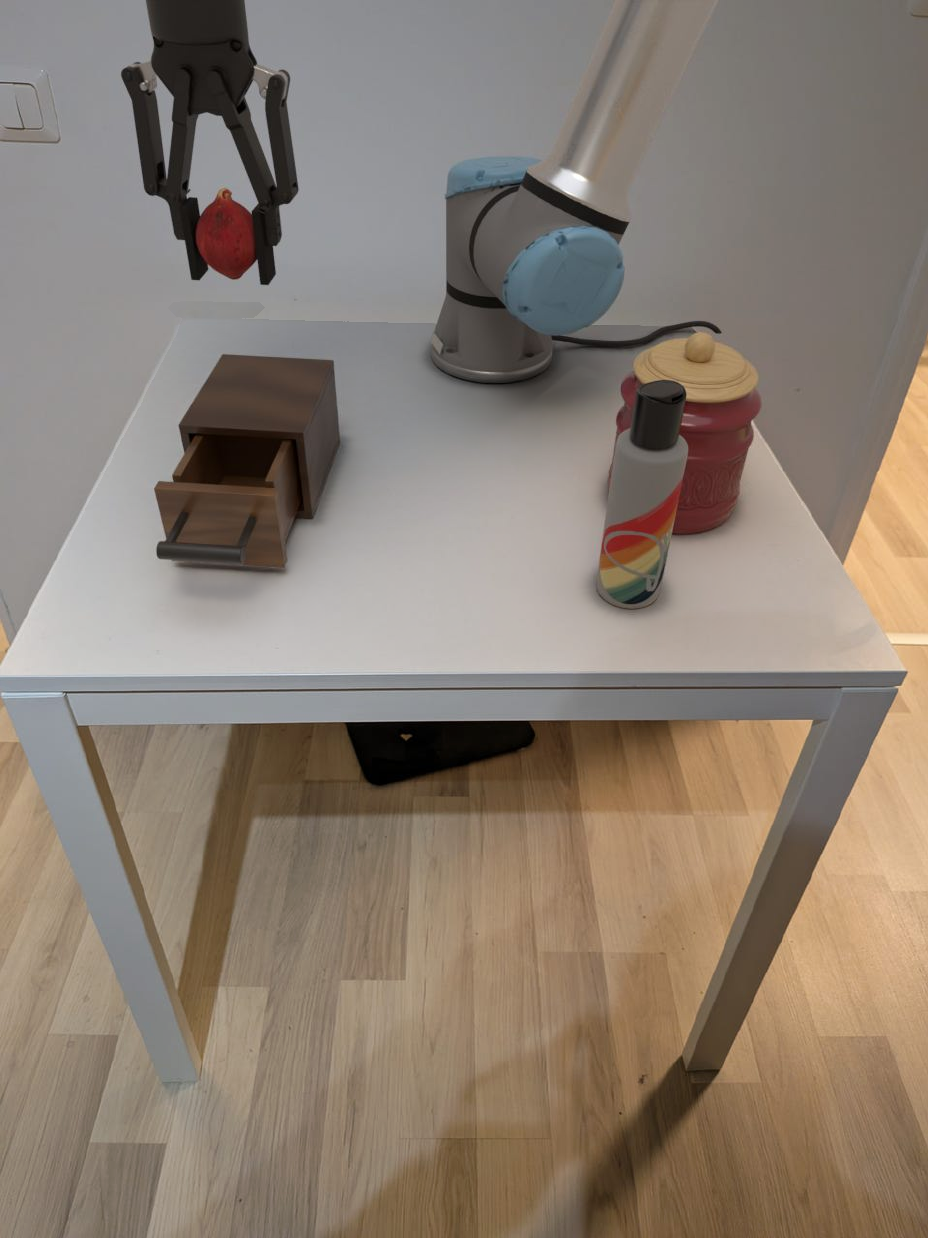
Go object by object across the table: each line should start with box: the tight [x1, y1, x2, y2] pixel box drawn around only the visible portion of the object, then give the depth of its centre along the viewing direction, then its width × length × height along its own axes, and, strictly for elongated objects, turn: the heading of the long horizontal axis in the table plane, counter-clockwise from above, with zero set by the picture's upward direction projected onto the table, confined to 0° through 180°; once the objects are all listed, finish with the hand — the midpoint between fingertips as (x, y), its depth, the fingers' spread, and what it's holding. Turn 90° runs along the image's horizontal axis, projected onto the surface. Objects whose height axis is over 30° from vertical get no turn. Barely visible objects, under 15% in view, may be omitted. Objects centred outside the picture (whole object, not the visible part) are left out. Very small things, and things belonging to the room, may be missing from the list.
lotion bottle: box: [596, 380, 688, 610], centre depth 77 cm, size 6×6×20 cm
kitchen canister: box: [607, 331, 763, 534], centre depth 88 cm, size 13×13×18 cm
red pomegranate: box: [196, 187, 257, 280], centre depth 84 cm, size 6×6×8 cm
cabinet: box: [178, 353, 341, 520], centre depth 93 cm, size 15×12×10 cm
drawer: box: [153, 434, 303, 569], centre depth 84 cm, size 19×10×8 cm, turn 175°
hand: (233, 276), depth 87 cm, fingers closed on red pomegranate, 6 cm apart
